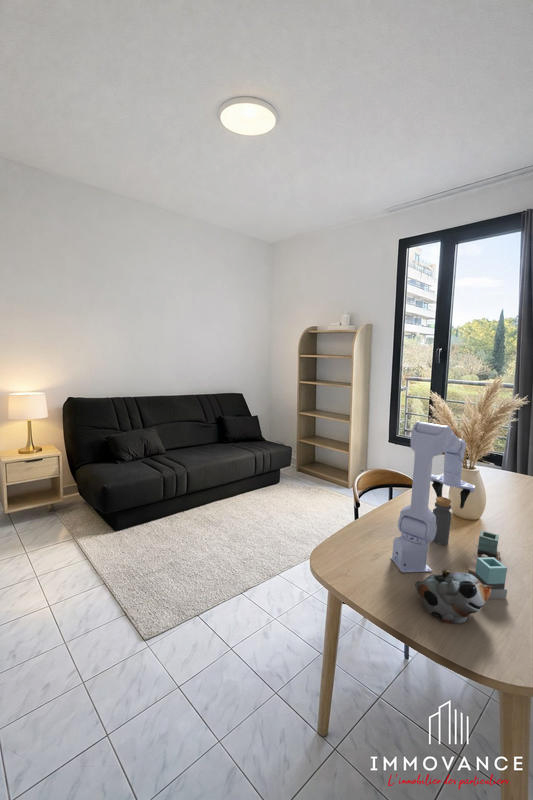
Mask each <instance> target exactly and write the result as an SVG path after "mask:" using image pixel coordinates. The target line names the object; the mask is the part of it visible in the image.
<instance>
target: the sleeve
mask: <svg viewBox="0 0 533 800" xmlns="http://www.w3.org/2000/svg"><path fill="white" fill-rule="evenodd" d="M507 572H508V567H507V566H505V565H504V564H503V563H501V561H500V560H499V561H498V560H497V559H495V558H494V557H484V558H477V563H476V571H475V578H477V579H478V580H479V581H480V582H481V583H482V584H483V585H488V586H492V589H503V588H504V587H505V585H506V580H507V579H506V578H507ZM505 588H506V587H505Z"/></svg>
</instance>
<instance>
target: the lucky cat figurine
mask: <svg viewBox="0 0 533 800" xmlns="http://www.w3.org/2000/svg"><path fill="white" fill-rule="evenodd" d="M441 573H442V574H432V575H429V576H428V577H426V578H424V580H422V581H420V580H416V581H415V583H414V584H415V585H414V587H415V589H416V592H417V594H418V597H419V598H420V600H421V602H422V604H423V606H424V607H425V608H426V609H427V610H428V612H429V613H430V615H433V616H437V618H438V620H439V621H441V622H442V623H447V624H448V623H453V624H464V623H465V622H466V621H467V619H468V618H469V616H470V615H472V614H476V613H478V612H480V611H481V610H482V609H483V607H484V604H486V601H488V600H490V599H489V597H490V594H491V589H492V586H488V585H483V584H482V583H481V582H480V581H479V580H478V579H477V578H475V577H474V576H473V575H471V574H468V572H459V571H456V572H452V573H451V572H450V571H449V569H446V568H445V569H443V570H442V572H441Z"/></svg>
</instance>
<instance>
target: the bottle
mask: <svg viewBox="0 0 533 800" xmlns="http://www.w3.org/2000/svg"><path fill="white" fill-rule="evenodd" d="M435 500H436V501H435V503H434V508H433V510H432V512H433V514H434V515H435V516H436V525H437V531H436V535H435V538H434V540H433V541H432V542H433V543H435V544H437V545H448V544H449V540H450V539H449V537H450V530H451V521H452V512H451V511H450V510H452V505H451V503H452V500H451V499H449V498H448V497H443V496H442V497H437V496H436V497H435Z"/></svg>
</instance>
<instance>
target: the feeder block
mask: <svg viewBox="0 0 533 800" xmlns="http://www.w3.org/2000/svg"><path fill="white" fill-rule="evenodd" d="M474 577H475V576H474ZM507 594H508V589H507V588H506V587H504V588H503V589H491V594H490V597H489V599H488V600H490V599H496V600H497V599H506V598H507V596H508V595H507Z"/></svg>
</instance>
